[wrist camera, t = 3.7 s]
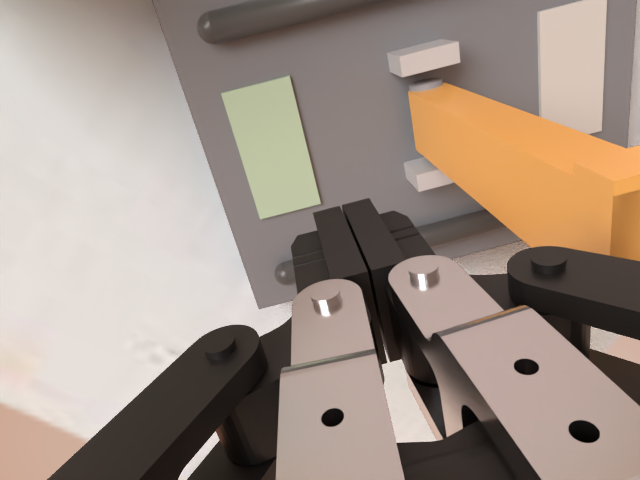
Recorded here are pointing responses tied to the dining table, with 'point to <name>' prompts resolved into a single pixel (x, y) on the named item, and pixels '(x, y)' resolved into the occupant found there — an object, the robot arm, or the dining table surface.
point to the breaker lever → (531, 170)
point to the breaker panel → (377, 105)
